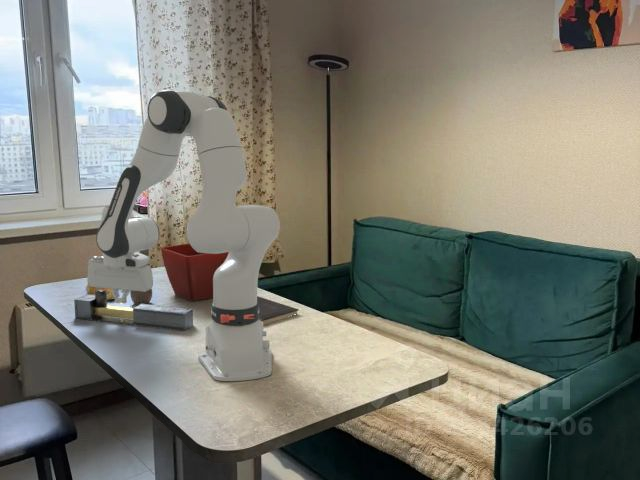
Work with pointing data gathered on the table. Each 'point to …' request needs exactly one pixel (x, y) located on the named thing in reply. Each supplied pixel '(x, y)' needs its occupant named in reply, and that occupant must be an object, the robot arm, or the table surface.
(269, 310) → the hardcover book
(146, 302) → the vase
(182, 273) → the plant pot
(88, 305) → the guide
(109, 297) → the croissant
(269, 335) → the table surface
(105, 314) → the sliding bolt
